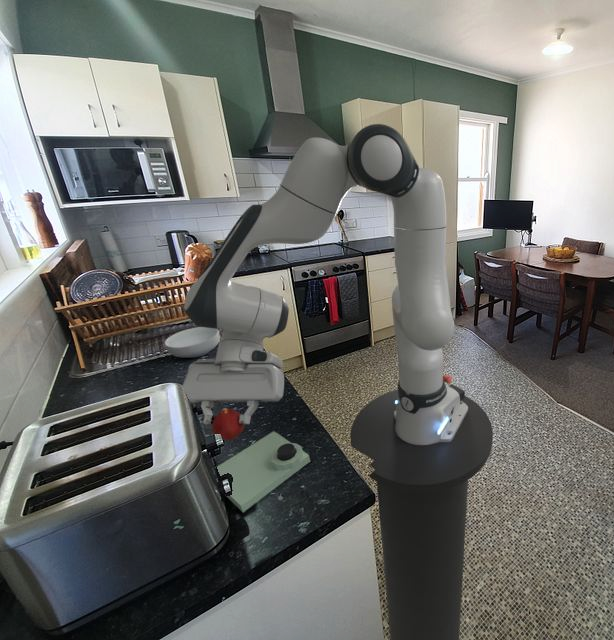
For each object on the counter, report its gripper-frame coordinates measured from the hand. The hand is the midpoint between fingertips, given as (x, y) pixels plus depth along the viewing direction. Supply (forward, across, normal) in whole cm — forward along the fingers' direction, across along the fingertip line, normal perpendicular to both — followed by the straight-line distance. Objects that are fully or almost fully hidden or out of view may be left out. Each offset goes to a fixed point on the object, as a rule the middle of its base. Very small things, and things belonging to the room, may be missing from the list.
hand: (226, 424), depth 70 cm
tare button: (+6, +9, +10) cm, 15 cm away
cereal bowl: (-30, -44, +51) cm, 74 cm away
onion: (+3, 0, +4) cm, 5 cm away
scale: (+9, +4, +11) cm, 15 cm away
